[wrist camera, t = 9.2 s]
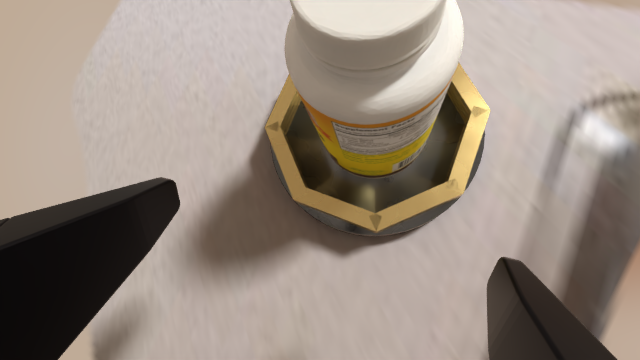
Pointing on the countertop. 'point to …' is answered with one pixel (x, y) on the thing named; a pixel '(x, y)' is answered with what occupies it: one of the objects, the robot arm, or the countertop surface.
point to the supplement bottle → (373, 75)
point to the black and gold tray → (389, 192)
